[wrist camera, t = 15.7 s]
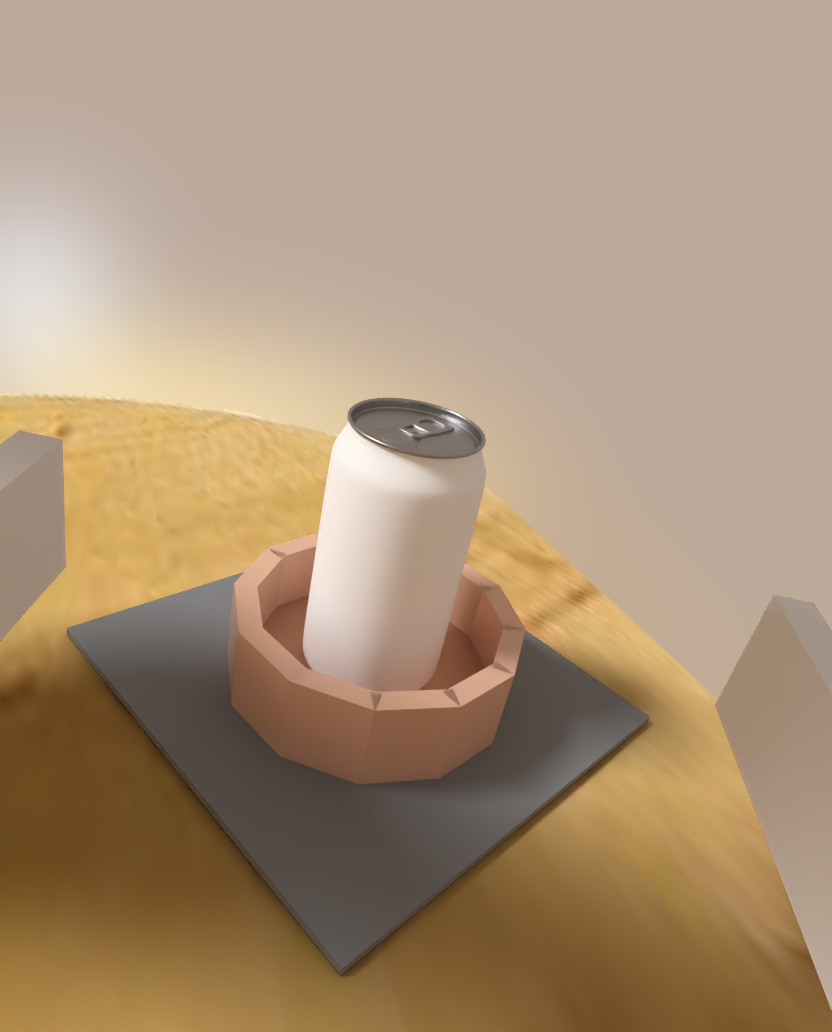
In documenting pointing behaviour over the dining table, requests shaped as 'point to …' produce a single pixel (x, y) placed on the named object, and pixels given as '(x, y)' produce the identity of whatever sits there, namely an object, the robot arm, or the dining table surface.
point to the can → (392, 542)
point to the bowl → (356, 710)
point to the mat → (335, 801)
